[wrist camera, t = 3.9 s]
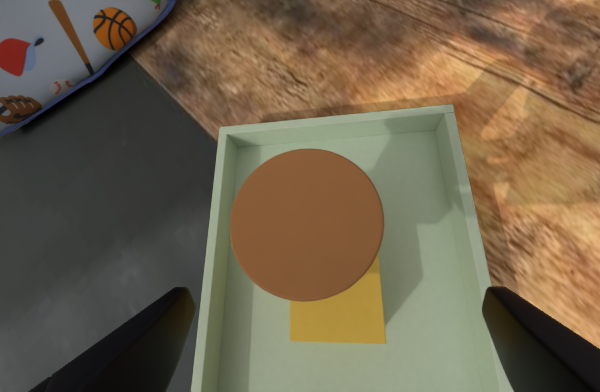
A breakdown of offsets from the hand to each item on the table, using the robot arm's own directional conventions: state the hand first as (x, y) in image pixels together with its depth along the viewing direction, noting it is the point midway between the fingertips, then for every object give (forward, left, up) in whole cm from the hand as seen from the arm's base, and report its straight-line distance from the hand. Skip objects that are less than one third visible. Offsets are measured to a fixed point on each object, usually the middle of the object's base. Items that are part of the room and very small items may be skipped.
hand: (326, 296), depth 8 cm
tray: (+1, -1, -9) cm, 9 cm away
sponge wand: (+1, -1, -8) cm, 9 cm away
